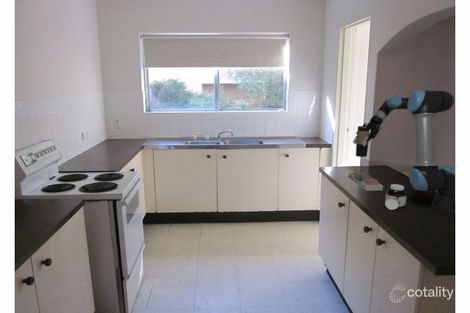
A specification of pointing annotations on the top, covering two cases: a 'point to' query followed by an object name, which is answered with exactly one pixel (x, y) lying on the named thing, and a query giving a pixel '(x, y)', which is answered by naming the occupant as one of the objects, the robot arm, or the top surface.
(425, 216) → the top surface
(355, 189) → the top surface
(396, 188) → the spread jar
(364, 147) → the travel mug
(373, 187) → the grey tray
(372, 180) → the key
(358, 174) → the key
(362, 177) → the middle key
